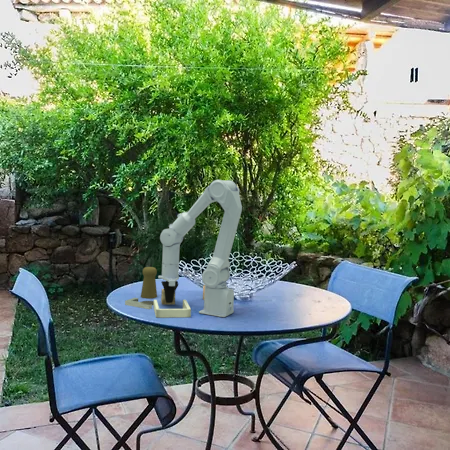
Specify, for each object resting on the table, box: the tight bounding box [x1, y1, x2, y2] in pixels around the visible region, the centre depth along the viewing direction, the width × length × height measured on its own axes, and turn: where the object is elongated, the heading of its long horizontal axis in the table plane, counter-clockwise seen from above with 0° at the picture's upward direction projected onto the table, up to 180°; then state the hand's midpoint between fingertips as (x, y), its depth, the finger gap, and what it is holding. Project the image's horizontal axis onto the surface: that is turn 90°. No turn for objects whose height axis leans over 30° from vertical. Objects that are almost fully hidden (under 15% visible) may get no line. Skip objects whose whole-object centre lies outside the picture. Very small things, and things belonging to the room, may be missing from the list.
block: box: [160, 288, 176, 305], centre depth 176 cm, size 4×4×4 cm
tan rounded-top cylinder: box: [202, 284, 205, 301], centre depth 185 cm, size 5×5×5 cm
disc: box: [141, 300, 154, 306], centre depth 174 cm, size 6×6×1 cm
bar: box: [124, 297, 153, 310], centre depth 171 cm, size 10×6×2 cm, turn 64°
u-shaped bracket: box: [152, 299, 192, 319], centre depth 165 cm, size 13×11×2 cm
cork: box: [140, 266, 158, 300], centre depth 184 cm, size 6×6×11 cm
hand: (169, 302), depth 173 cm, fingers closed
